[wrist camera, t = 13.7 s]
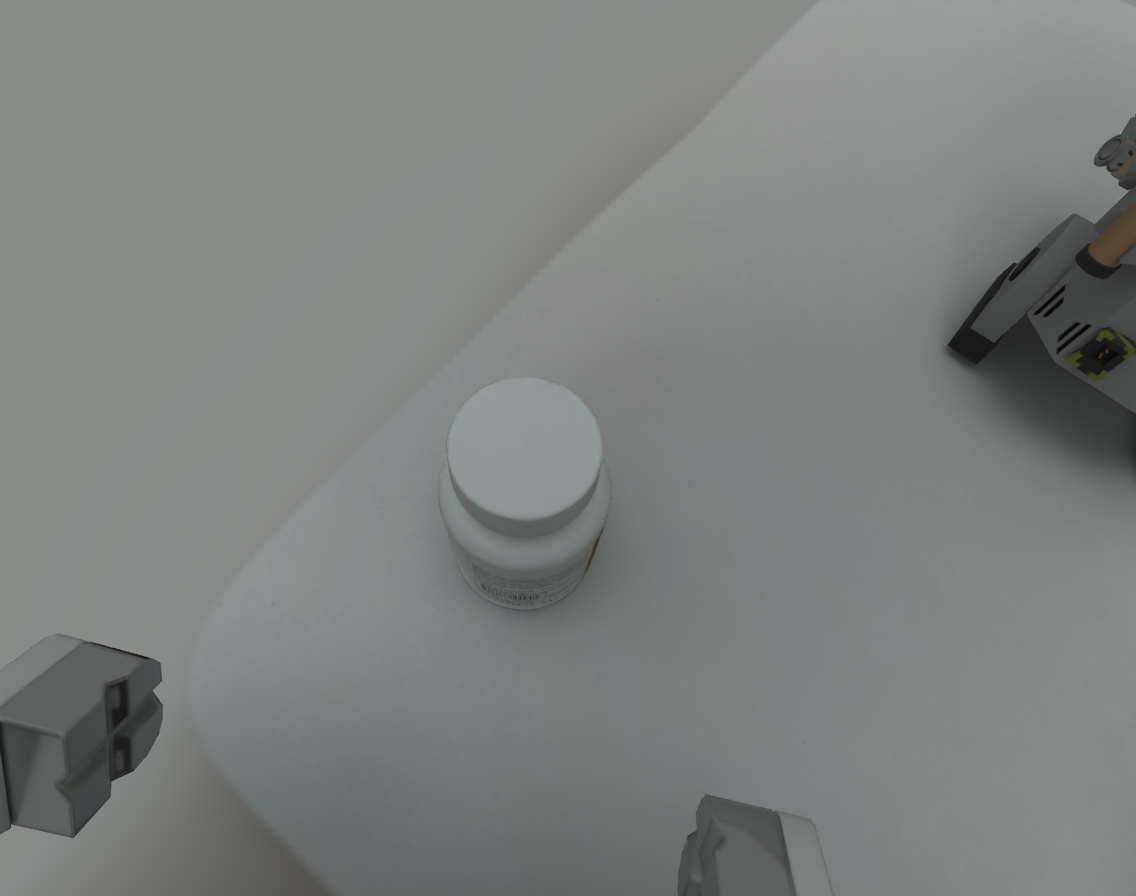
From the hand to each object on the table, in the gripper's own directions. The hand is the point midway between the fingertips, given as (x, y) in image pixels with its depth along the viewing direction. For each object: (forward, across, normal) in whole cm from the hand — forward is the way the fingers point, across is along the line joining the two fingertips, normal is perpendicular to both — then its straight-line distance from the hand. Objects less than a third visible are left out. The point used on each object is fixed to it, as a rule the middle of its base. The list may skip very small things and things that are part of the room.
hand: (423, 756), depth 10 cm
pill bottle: (+12, 0, -3) cm, 12 cm away
